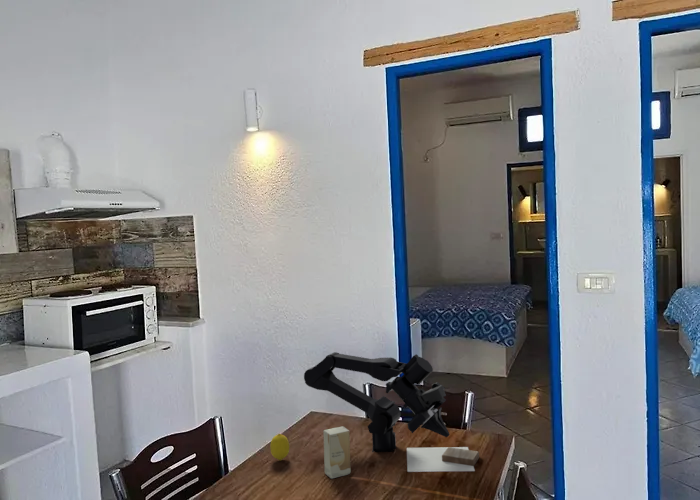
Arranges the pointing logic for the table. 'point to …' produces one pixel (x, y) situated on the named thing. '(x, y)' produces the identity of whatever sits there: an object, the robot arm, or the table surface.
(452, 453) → the tile
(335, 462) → the skincare box
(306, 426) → the table surface
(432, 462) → the mat
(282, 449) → the lemon
